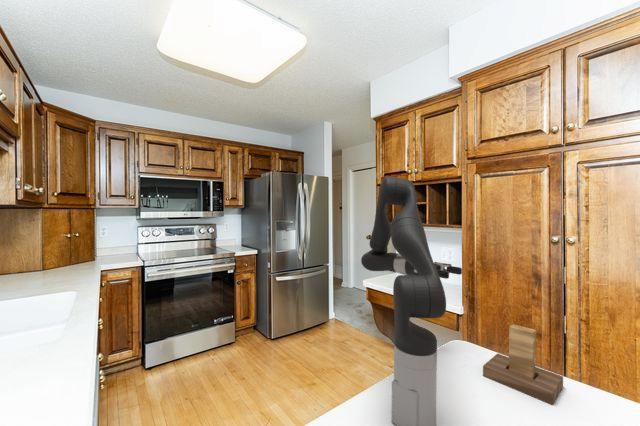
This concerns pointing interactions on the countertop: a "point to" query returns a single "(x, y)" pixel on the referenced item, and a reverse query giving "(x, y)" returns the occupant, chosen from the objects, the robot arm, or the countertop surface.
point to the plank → (522, 350)
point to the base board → (524, 379)
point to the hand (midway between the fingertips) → (455, 273)
